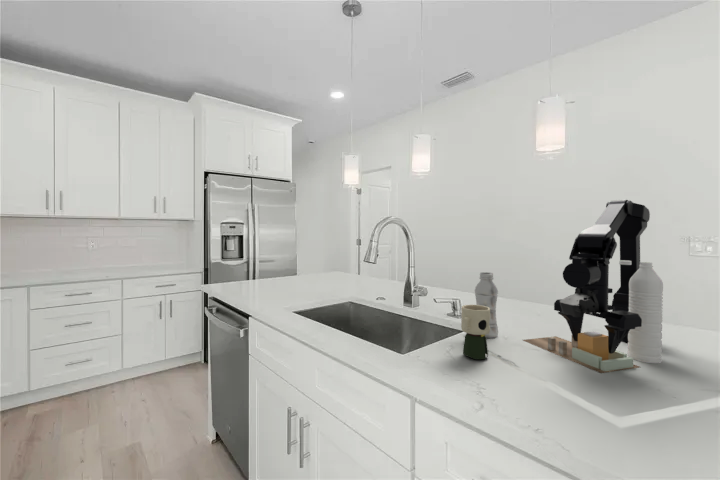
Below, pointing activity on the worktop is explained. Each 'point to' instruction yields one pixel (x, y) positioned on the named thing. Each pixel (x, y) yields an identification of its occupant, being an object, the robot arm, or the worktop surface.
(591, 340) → the orange upright block
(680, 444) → the worktop surface
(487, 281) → the plastic bottle
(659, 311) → the water bottle
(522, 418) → the worktop surface
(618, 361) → the bracket
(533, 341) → the board
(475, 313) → the character mug
